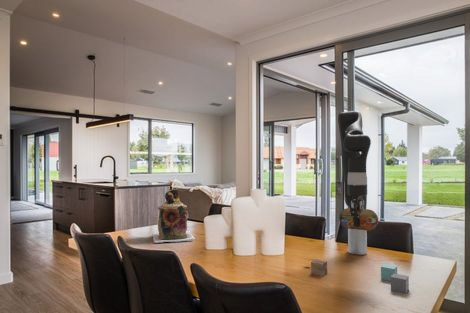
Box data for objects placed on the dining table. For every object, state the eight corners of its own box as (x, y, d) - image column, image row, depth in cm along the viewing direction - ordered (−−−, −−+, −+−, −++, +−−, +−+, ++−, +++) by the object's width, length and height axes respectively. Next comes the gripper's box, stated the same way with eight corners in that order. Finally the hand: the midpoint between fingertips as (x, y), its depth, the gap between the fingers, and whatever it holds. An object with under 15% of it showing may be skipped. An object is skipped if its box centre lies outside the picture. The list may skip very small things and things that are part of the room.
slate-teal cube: (384, 276, 136) (383, 263, 136) (397, 278, 133) (397, 266, 133) (381, 279, 132) (380, 266, 132) (394, 282, 129) (394, 269, 129)
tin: (339, 227, 137) (338, 207, 137) (341, 226, 139) (341, 206, 139) (377, 232, 128) (376, 210, 128) (379, 230, 130) (378, 209, 130)
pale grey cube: (394, 286, 123) (393, 273, 124) (408, 289, 120) (408, 276, 120) (390, 290, 119) (390, 276, 120) (406, 294, 116) (405, 279, 116)
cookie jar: (151, 236, 215) (152, 187, 216) (189, 233, 223) (189, 186, 224) (154, 244, 192) (154, 189, 193) (195, 241, 199) (196, 188, 200)
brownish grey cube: (316, 271, 142) (316, 259, 142) (327, 273, 139) (327, 261, 139) (311, 274, 138) (311, 262, 138) (322, 276, 135) (322, 264, 135)
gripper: (353, 182, 142) (353, 222, 141) (342, 184, 131) (342, 227, 130) (371, 183, 137) (372, 224, 137) (361, 184, 126) (362, 229, 126)
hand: (357, 226), depth 134 cm, fingers closed on tin, 2 cm apart
